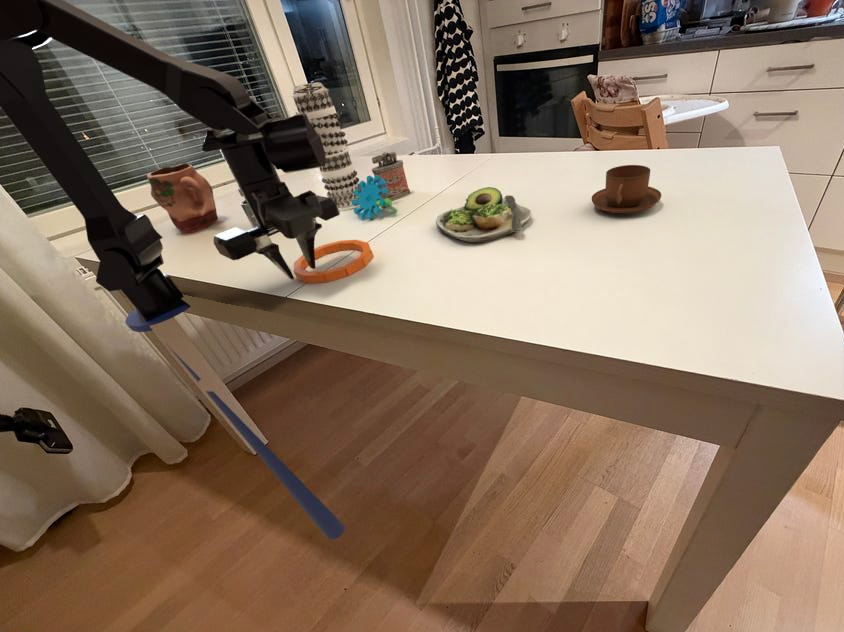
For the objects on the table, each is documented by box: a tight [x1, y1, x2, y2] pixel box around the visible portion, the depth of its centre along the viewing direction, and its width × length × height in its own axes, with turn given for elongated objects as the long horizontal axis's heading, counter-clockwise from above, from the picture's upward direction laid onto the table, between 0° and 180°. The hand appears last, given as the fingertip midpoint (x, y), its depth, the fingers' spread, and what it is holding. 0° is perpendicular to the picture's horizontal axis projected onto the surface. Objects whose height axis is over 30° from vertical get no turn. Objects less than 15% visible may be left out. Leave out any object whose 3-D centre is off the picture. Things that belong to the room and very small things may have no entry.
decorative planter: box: [146, 162, 219, 233], centre depth 98 cm, size 20×12×14 cm, turn 64°
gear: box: [352, 175, 398, 220], centre depth 89 cm, size 11×6×10 cm
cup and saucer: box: [591, 164, 662, 214], centre depth 71 cm, size 12×12×6 cm
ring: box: [292, 239, 374, 284], centre depth 71 cm, size 14×14×1 cm
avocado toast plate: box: [435, 186, 532, 243], centre depth 74 cm, size 19×18×5 cm
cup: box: [240, 199, 259, 228], centre depth 93 cm, size 7×7×6 cm
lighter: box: [371, 151, 411, 202], centre depth 94 cm, size 8×3×10 cm, turn 130°
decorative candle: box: [291, 81, 361, 212], centre depth 90 cm, size 9×9×25 cm
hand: (302, 273), depth 68 cm, fingers open, 4 cm apart
